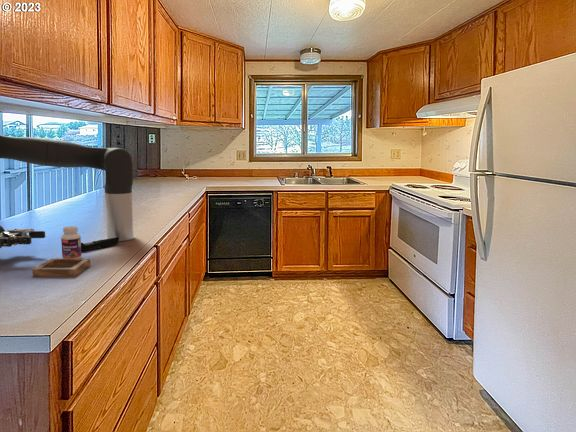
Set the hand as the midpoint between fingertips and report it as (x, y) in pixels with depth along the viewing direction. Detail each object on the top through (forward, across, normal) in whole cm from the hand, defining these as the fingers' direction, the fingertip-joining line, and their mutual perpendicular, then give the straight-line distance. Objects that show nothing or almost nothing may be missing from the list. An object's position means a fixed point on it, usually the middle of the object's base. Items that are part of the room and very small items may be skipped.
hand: (38, 237), depth 140 cm
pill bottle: (+10, 0, +7) cm, 12 cm away
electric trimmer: (+12, +14, +7) cm, 20 cm away
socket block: (+13, -14, +6) cm, 20 cm away
